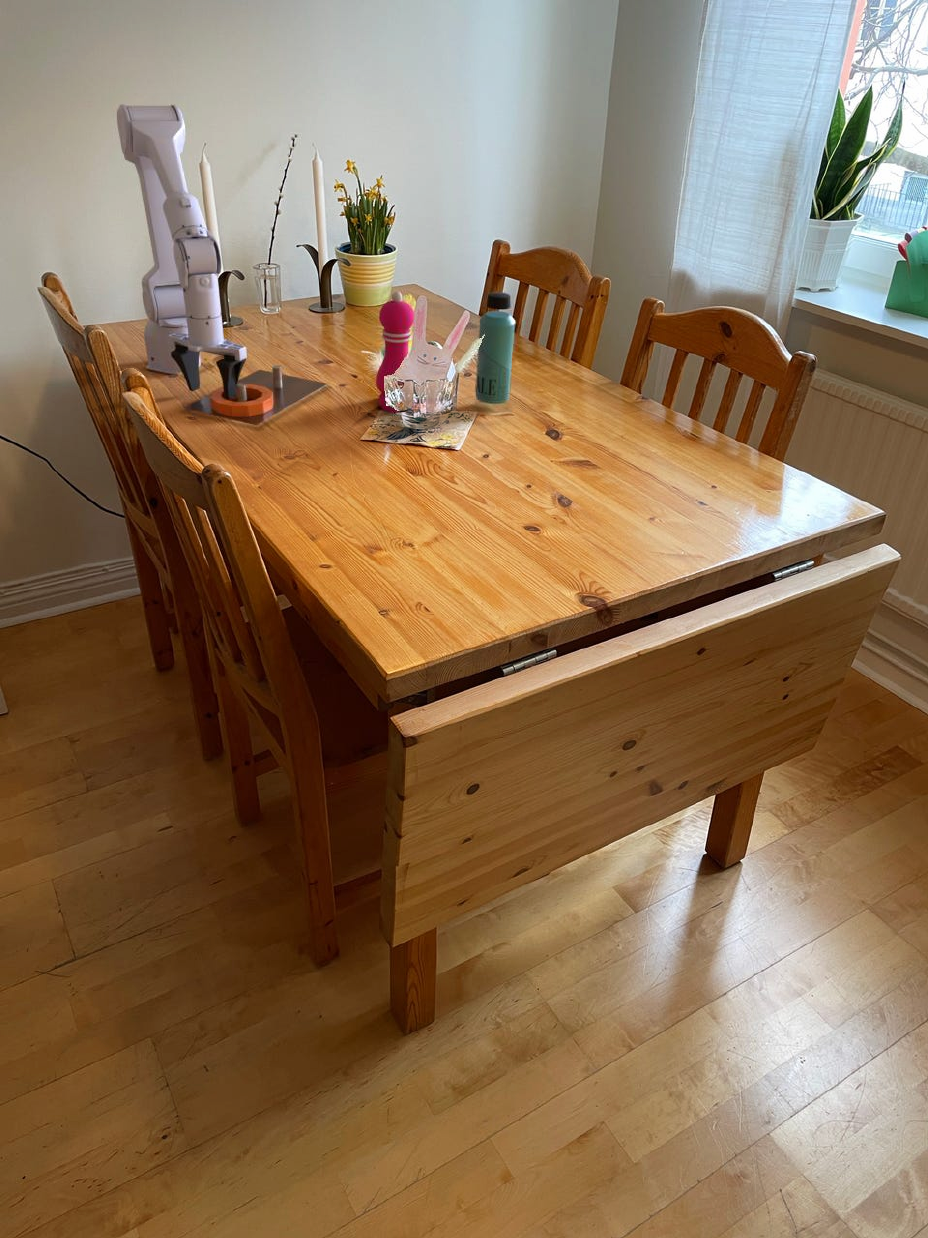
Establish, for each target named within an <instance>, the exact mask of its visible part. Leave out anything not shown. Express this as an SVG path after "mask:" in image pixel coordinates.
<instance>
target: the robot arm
mask: <svg viewBox="0 0 928 1238" xmlns="http://www.w3.org/2000/svg"><path fill="white" fill-rule="evenodd" d="M116 126H117V131H118V136H119V141H120V147H121V152H122V154H123V158H124V160H125V161H127V162H129V163H132V164H133V165H134V166H135V169H136V171H137V175H138V178H139V183H140V189H141V195H142V201H143V207H144V212H145V219H146V224H147V229H148V235H149V241H150V247H151V253H152V258H153V264H154V265H153V266H152V267H151V269H149V270H148V271H147V272H146V273H145V274H144V275H143V277H142V278H141V287H142V301H143V302H142V303H143V307H144V311H145V314H146V317H147V319H148V321H147V322H146V324H145V326H144V331H143V338H144V345H145V350H146V357H147V365H146V366H145V369H146V370H150V371H154V372H159V373H164V374H168V375H174V374H176V373H179V372H181V373H182V375H183V378H184V380H185V382H186V385H187V388H188V390H189V391H190V392H194V391H196V390H198V389H201V377H200V367H201V366H202V360H201V352H202V353H208V354H212V355H216V356H222V357H223V358H220V359H218V360H216V361H215V364H216V366H217V368H218V371H219V374H220V377H221V381H222V387H223V388H224V395H225V398H226V399H231V398H233V397H235V396H236V384H238V380H240V376H241V373H242V370H243V368H244V365H245V363H246V362H247V358H248V357H247V346H244V345H240V344H238V343H235V342H233V341H231V340H229V339H227V338H225V337H224V328H223V326H224V325H223V318H222V307H221V298H220V289H219V288H220V287H219V279H218V275H220V274H221V271H222V255H221V251H220V247H219V244H218V241H217V239H216V237H215V236H213V233H212V231H211V230H208V228H207V225H206V221H205V218H204V215H203V213H202V210H201V206H200V203H199V200H198V199H197V197H195V196H194V195H192V193H189V191H188V186H187V181H186V177H185V173H184V168H183V163H182V160H181V156H180V155H181V154H182V153H183V151H184V144H185V143H186V125H185V120H184V116H183V113H182V111H181V110H180V109H179V106H177V105H176V104H170V105H125V104H119V106H118V108H117V110H116ZM171 283H176V284H171ZM160 284H161V285H160ZM163 284H164V285H163Z"/></svg>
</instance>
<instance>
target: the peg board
mask: <svg viewBox="0 0 928 1238" xmlns="http://www.w3.org/2000/svg"><path fill="white" fill-rule="evenodd" d="M245 384H254V385H258V386H263V387H266V388H268V389H269V390H271V391H272V392H273V402H274V403H273V408H272V409H271V410H269V411H267V412H266V413H264V414H260V415H255V416H250V417H232V416H226V415H222V414H218V413H217V412H215V411H214V410H213V409H212V408H211V402H210V396H211V393H210V394H208V395H206V396H204V397H202V398H200V399H198V400H196V401H194V402H192V403H190V404H188V405H186V406H184V407H183V409H185V410H191V411H194V412H197V413H203V414H207V415H211V416H215V417H220V418H224V419H227V420H233V421H238V422H241V423H245V424H250V425H254V426H258V425H260V424H262V423H264V422H265V421H267V420H268V419H270V418H272V417H274V416H275V415H277V414H279V413H281V412H282V411H284V410H286V409H287V408H289V407H291V406H293V405H295V404H297V403H298V402H300V401H301V400H303V399H305V398H307V397H309V396H310V395H311V394H314V393H315V392H317V391H319V390H321V389H322V388H324V387H326V386H328V383H325V382H320V381H316V380H312V379H307V378H301V377H297V376H292V375H287V374H283V373H282V366H281V365H276V364H275V365H272V366H271V371H268V370H263V369H258V370H256V371H254V372H252V373H251V374H248V375H247V376H245V377H242V378H239V379H238V384H236V390H237V399H232V400H229V401H233V402H247V401H253V400H255V399H250V398H247V395H246V385H245Z"/></svg>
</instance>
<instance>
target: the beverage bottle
mask: <svg viewBox="0 0 928 1238" xmlns="http://www.w3.org/2000/svg"><path fill="white" fill-rule="evenodd" d="M511 306H512V305H511V295H510V293H506V292H501V291H493V292H489V293H488V294H487V299H486V308H489V309H492V310H491V311H487V312H485V313H484V314H483V315H482V316H481V317H480V318H479V331H478V338H477V341H478V340H479V339H480V338H482V336H483V335H484V334H485V336H484V338H483V339H482V343H481V345H480V347H479V349H478V348H477V355H476V357H477V362H476V373H475V383H474V384H475V386H474V389H475V391H474V392H475V393H474V394H475V398H476V400H477V401H479V402H481V403H484V404H488V405H489V404H490V405H500V404H505V403H507V402H508V401H509V399H510V395H511V386H512V372H513V371H512V370H513V369H512V368H513V366H512V365H513V349H514V338H515V327H516V320H515V318H513V316H512V315H511V314H510V313H508V312H507V311H505V310H510V308H511ZM502 310H504V311H502Z"/></svg>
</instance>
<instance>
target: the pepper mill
mask: <svg viewBox="0 0 928 1238" xmlns="http://www.w3.org/2000/svg"><path fill="white" fill-rule="evenodd" d="M378 319H379V322H380V325H381V326H382V327H383V328H382V330H381V333H382V335H381V339H383V340H384V355H383V359H382V361H381V364H380V366H379V368H378V370H377V373H376V377H375V386H376V388H377V390H378V391H379V392H380V394H379V395H378V404H379V405H378V407H379V408H380V409H382V410H383V411H386V412H390V413H391V412H392V413H401V412H400V411H397V410H395V409H394V408H392V407H390V406H386V401H385V391H384V376H387V375H392V374H394V373H395V371H396V370H397V369H398V368H399V367H400V365H401V363H402V361H403V360H404V358H405V357H406V356H407V354H409V342H410V341H411V340H412V336H411V335H412V330H411V328H412V326H413V325H414V323H415V312H414V309H413V307H412V306H411V305H410V304H409V303H408V302H407V301H404V300H403V295H402V293H401V291H398V290H397V291H393V293H392V294H391V300H389V301H386V302H385V303H384V304H383V305H381V307H380V310H379V315H378Z"/></svg>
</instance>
